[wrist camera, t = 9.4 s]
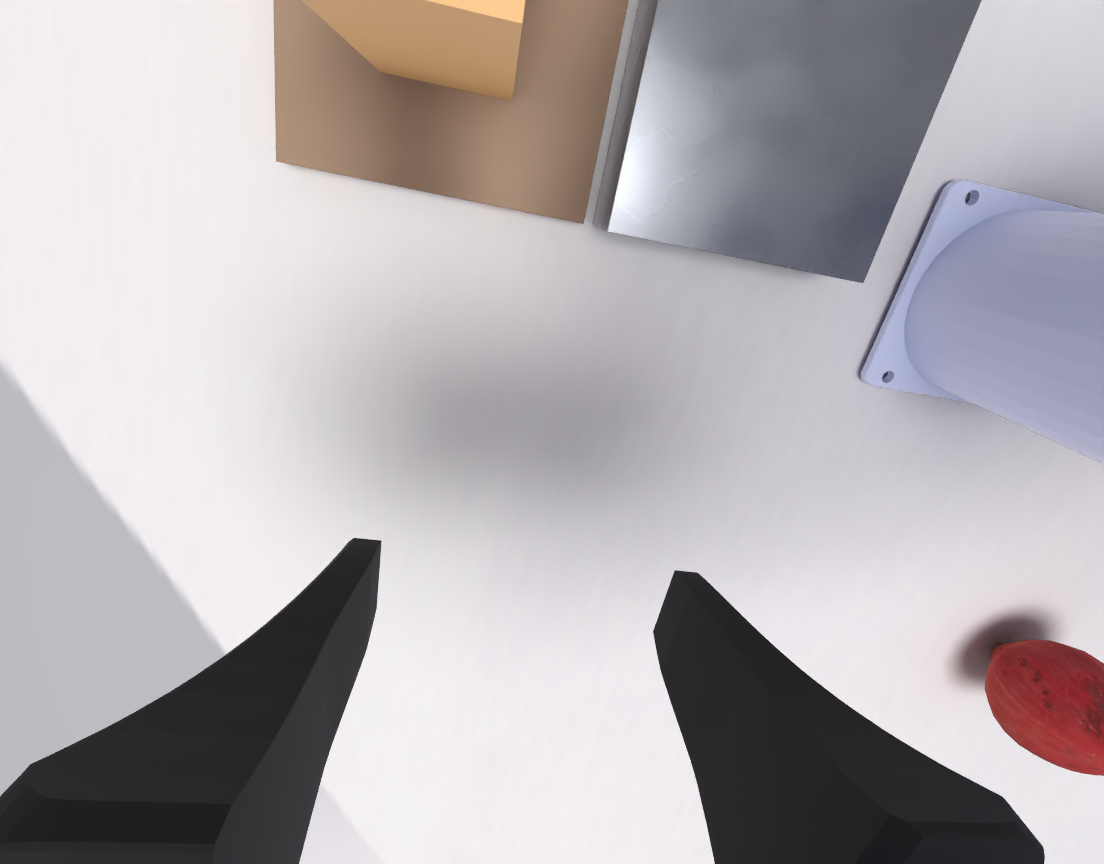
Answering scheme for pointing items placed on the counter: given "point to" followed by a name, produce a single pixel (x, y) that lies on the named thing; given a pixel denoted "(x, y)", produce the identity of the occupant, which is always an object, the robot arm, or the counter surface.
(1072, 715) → the onion
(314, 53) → the board
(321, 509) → the counter surface
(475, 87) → the peg
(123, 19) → the counter surface
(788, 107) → the grey slotted block
